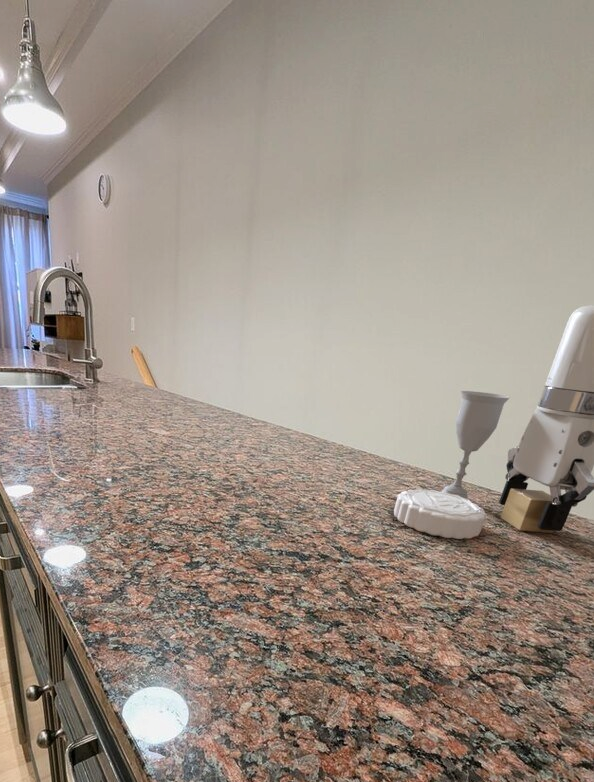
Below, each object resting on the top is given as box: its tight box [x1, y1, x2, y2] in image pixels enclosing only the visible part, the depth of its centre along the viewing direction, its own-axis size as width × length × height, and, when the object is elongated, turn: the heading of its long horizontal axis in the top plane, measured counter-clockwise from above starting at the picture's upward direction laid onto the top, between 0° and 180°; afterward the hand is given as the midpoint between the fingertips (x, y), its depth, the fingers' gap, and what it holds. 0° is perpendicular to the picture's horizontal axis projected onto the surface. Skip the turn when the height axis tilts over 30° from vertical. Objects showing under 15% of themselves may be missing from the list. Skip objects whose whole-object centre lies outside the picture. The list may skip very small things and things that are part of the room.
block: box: [500, 488, 554, 534], centre depth 68 cm, size 5×5×5 cm
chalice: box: [440, 390, 510, 499], centre depth 74 cm, size 7×7×18 cm
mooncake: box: [393, 488, 487, 540], centre depth 66 cm, size 12×12×4 cm
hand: (527, 516), depth 69 cm, fingers open, 9 cm apart
